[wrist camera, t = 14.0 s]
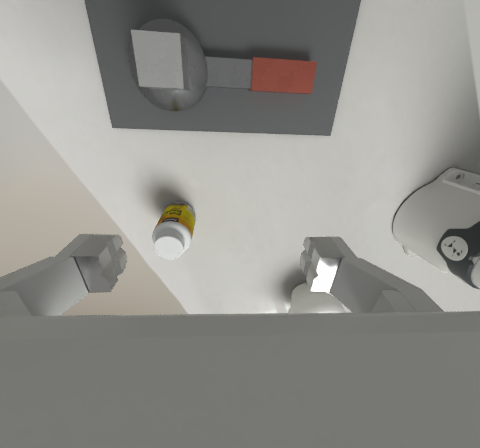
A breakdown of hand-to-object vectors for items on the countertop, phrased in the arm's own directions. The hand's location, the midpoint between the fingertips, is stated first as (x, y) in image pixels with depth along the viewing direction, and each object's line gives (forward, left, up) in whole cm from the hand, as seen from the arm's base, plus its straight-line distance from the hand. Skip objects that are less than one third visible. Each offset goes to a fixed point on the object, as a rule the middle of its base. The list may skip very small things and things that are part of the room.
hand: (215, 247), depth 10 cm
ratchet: (-1, -9, -27) cm, 28 cm away
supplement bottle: (+7, +12, -28) cm, 31 cm away
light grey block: (+6, -9, -24) cm, 26 cm away
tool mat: (-1, -13, -27) cm, 30 cm away
